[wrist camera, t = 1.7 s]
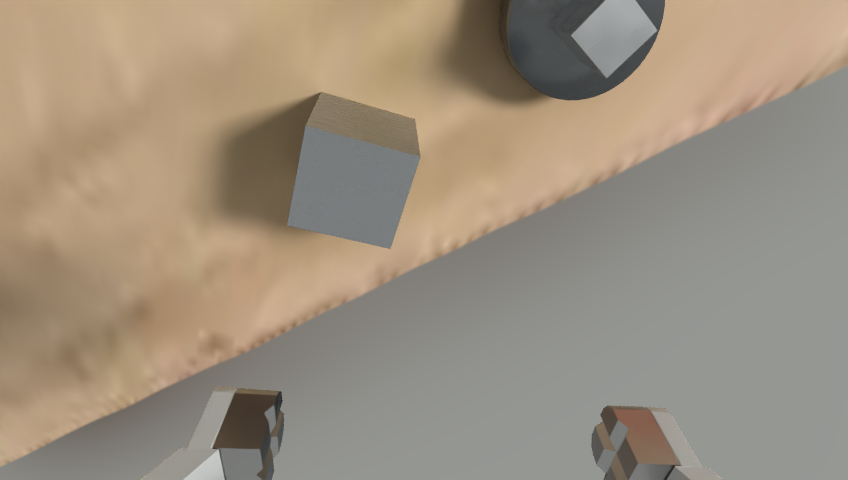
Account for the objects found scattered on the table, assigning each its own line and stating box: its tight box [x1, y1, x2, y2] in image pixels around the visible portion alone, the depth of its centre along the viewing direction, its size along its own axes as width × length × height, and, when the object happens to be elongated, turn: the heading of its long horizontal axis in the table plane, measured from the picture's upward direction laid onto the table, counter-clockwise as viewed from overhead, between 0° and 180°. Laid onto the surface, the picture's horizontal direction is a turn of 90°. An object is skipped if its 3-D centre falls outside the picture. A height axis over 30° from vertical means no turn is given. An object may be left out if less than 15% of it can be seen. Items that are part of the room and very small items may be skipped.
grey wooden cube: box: [287, 92, 420, 249], centre depth 27 cm, size 6×6×6 cm
